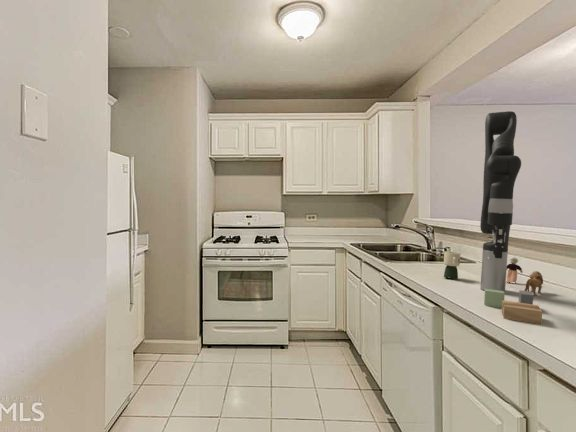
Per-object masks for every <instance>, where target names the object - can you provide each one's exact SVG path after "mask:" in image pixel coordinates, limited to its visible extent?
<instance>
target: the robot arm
mask: <svg viewBox="0 0 576 432" xmlns="http://www.w3.org/2000/svg"><path fill="white" fill-rule="evenodd" d="M515 112H516V111H515ZM515 112H514V111H511V110H509V111H507V110H506V111H498V112H489V113H488V114H487V115H486V116H485V121H484V123H485V124H484V132H485V133H484V139H485V140H484V141H485V142H484V146H485V149H484V150H485V151H484V152H485V153H484V164H483V185H482V186H483V187H482V188H483V190H482V192H483V195H482V205H481V215H480V222H479V223H480V226H479V227H480V232H481V233H482V234H485V235H492V241H487V242H484V243H483V245H482V259H481V274H480V290H482V291H485V289H491V290H499V291H504V293H505V292H506V285H507V283H506V281H507V272H508V269H507V265H508V254H509V253H508V251H509V240H510V239H509V238H510V231H511V226H512V225H513V217H514V216H513V215H514V214H513V211H514V203H513V202H514V200H513V199H514V187H515V182H516V179H517V177H518V175H519V172H520V169H521V167H522V159H521V158H520V157H519V156H517V155H515V145H514V141H515V138H516V131H517V123H518V120H517V117H518V116H517V114H516V113H515ZM494 136H497V137H496V138H494Z"/></svg>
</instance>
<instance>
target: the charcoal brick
mask: <svg viewBox="0 0 576 432" xmlns="http://www.w3.org/2000/svg"><path fill="white" fill-rule="evenodd" d="M518 302H519V303H526V304H533V303H534V294H533V293H532V292H530V291H529V292H528V290H527V291H524V290H521V289H520V290H519V291H518ZM533 305H534V304H533Z"/></svg>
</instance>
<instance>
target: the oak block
mask: <svg viewBox="0 0 576 432" xmlns="http://www.w3.org/2000/svg"><path fill="white" fill-rule="evenodd" d="M501 315H502V317H503V319H506V320H513V321H519V322H525V323H531V324H538V325H542V323H543V322H542V320H543V311H542V309H541V308H540V306H539V305H538V304H526V303H519V302H517V301H512V300H511V301H510V300H505V299H504V300H502V308H501Z"/></svg>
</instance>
